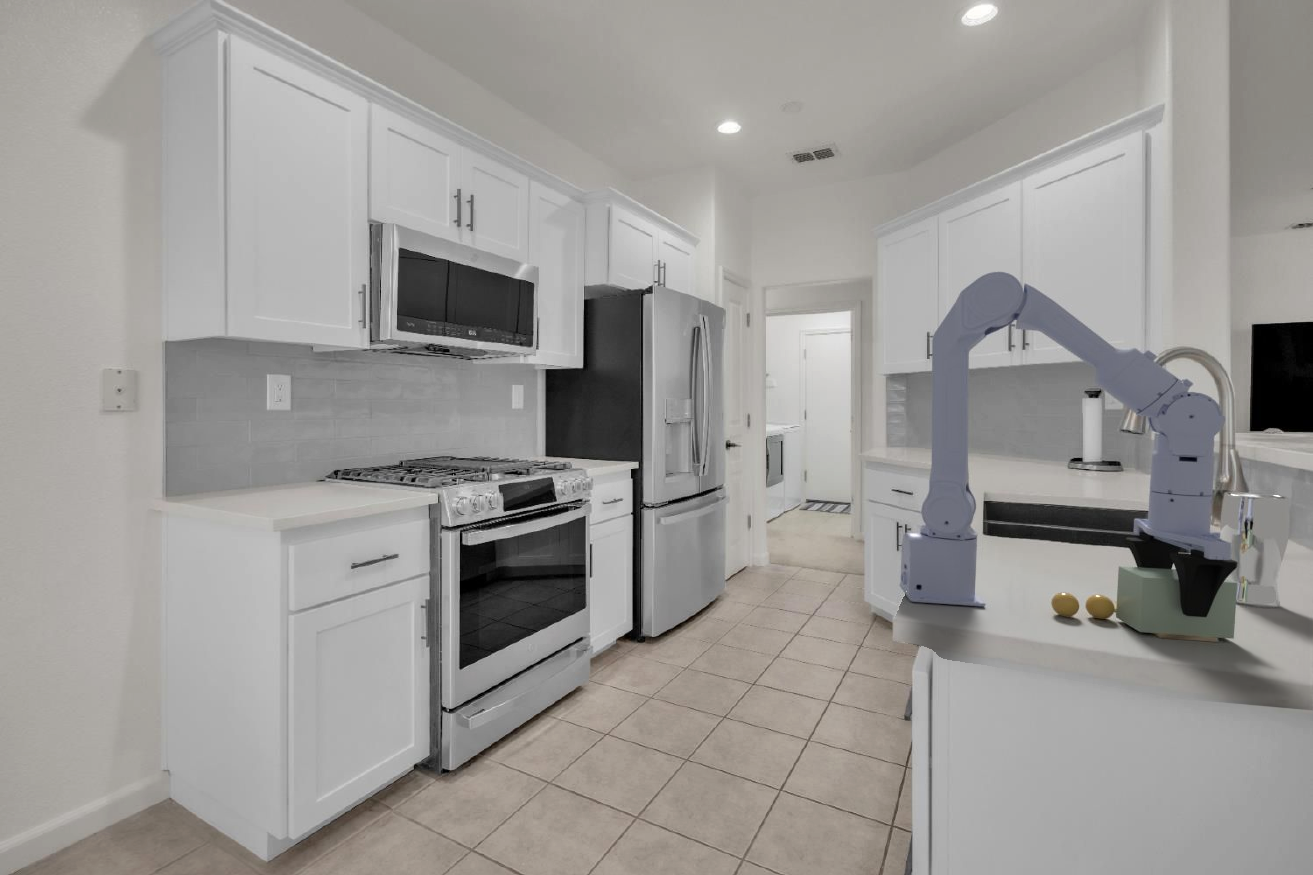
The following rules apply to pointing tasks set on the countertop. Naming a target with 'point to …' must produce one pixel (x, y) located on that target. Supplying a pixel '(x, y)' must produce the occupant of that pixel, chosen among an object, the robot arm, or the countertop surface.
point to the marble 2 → (1100, 606)
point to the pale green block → (1170, 604)
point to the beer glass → (1256, 544)
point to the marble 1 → (1065, 604)
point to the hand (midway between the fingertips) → (1173, 605)
